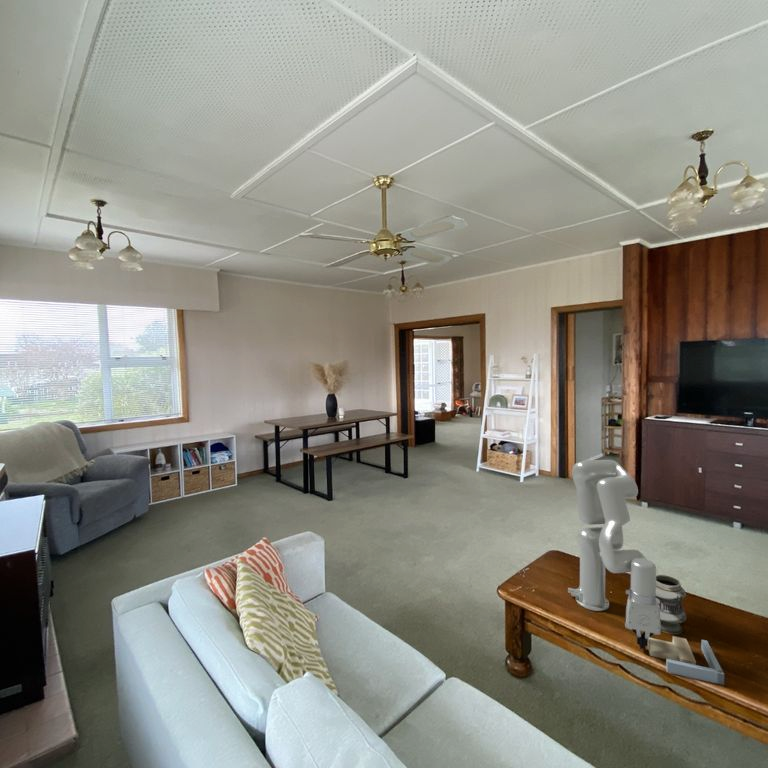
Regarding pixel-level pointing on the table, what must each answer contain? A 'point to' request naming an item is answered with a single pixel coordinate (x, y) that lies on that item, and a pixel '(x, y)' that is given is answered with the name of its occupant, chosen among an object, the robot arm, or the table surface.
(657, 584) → the apothecary jar
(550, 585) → the table surface
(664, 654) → the t block
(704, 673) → the fence
